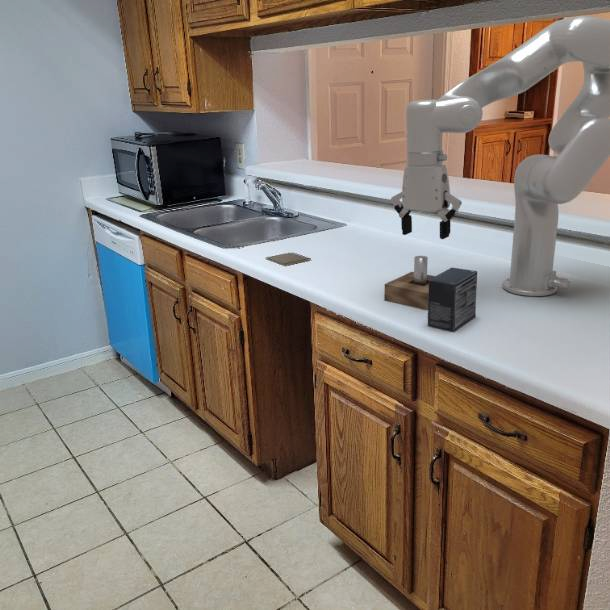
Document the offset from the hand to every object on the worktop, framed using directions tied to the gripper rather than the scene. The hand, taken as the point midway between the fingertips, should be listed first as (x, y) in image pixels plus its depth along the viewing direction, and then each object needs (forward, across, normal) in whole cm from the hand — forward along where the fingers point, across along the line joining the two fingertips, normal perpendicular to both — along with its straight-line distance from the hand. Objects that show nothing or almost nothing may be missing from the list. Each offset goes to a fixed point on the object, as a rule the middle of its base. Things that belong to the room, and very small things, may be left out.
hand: (425, 235), depth 138 cm
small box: (+15, -12, +10) cm, 22 cm away
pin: (+15, +1, +1) cm, 15 cm away
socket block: (+15, +1, +1) cm, 15 cm away
